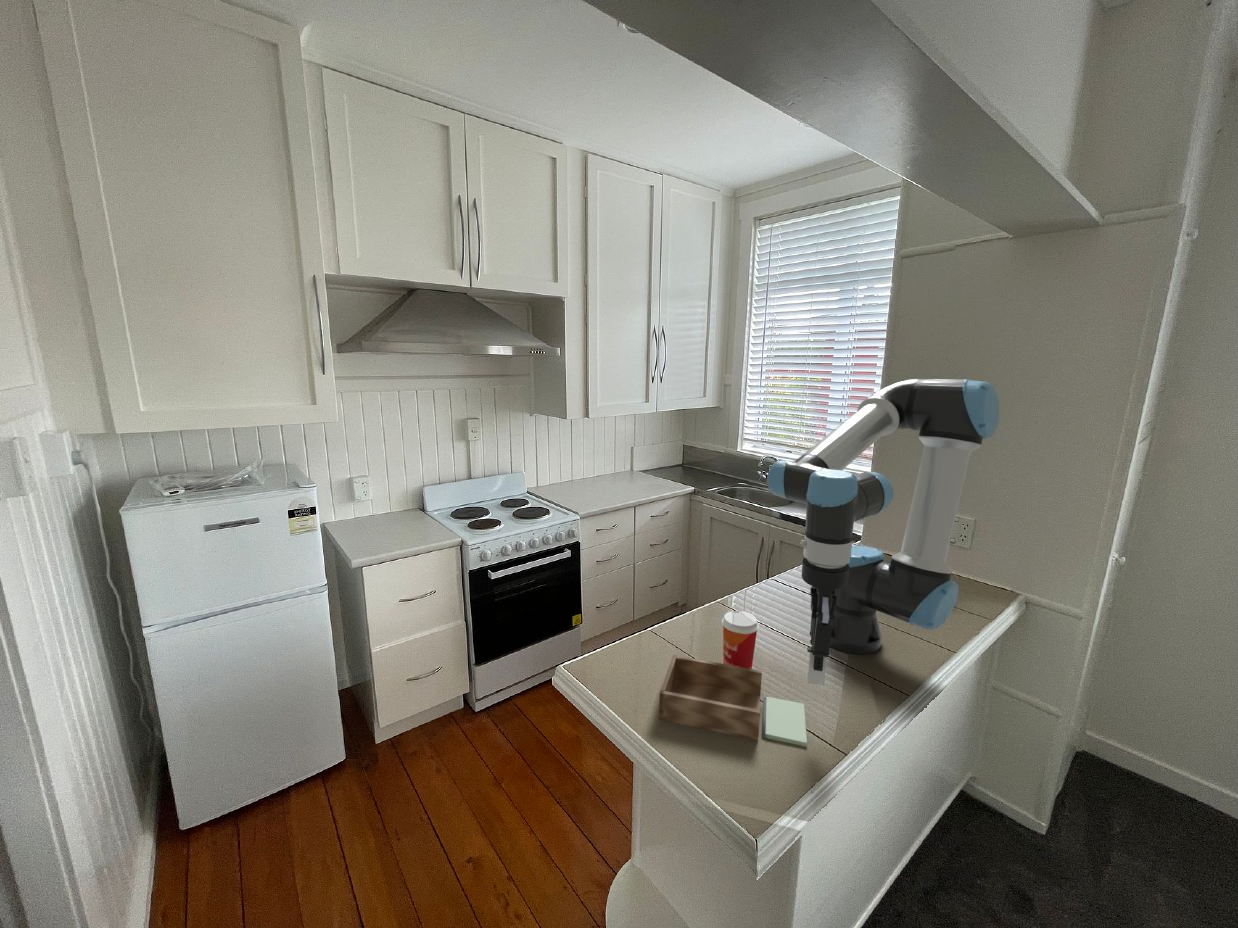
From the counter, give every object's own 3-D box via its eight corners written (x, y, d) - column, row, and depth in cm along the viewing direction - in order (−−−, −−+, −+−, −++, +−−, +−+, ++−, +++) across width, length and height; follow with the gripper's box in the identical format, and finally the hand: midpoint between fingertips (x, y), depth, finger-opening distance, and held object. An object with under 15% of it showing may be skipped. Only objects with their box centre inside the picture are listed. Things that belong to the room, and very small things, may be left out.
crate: (759, 699, 102) (762, 670, 101) (757, 745, 90) (760, 712, 89) (672, 682, 107) (673, 654, 106) (658, 723, 95) (659, 692, 94)
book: (762, 702, 101) (803, 710, 99) (761, 741, 91) (806, 751, 88) (763, 695, 101) (803, 703, 99) (762, 733, 90) (807, 743, 88)
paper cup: (714, 667, 113) (717, 609, 110) (748, 666, 113) (752, 608, 111) (724, 690, 105) (728, 628, 102) (760, 688, 106) (765, 627, 103)
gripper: (801, 544, 94) (792, 658, 99) (804, 573, 82) (795, 700, 87) (844, 548, 92) (834, 664, 97) (855, 578, 80) (842, 709, 85)
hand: (815, 681), depth 92 cm, fingers closed
